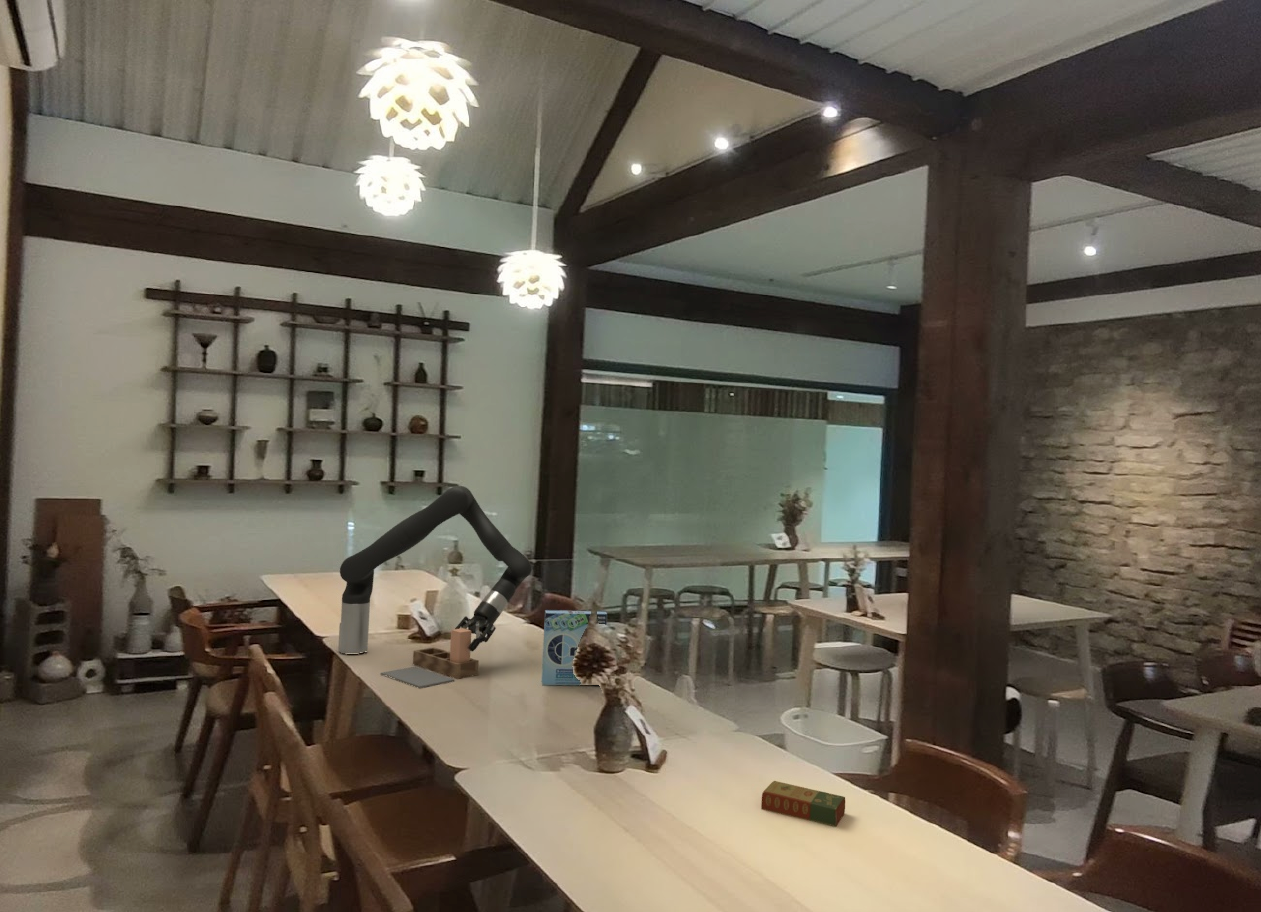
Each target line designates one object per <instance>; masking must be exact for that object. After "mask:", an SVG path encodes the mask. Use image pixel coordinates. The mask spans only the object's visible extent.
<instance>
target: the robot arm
mask: <svg viewBox="0 0 1261 912" xmlns="http://www.w3.org/2000/svg"><path fill="white" fill-rule="evenodd" d="M458 515H460V516H461V517H462V518H464V520H466V521H467V522H468V524H469V525H470V526H471V528H472V529H473V530H474V531H475V533H476V535H477V537H478V539H479V540H480V541H481V543H482V544H483V547H485V549H486V550H487V551H488V552H489V553H490V555H492V557H493V558H494V559H495V560H496V561H498V562H503V563H504V564H505V565H506V569H505V570H504V572H503V573H502V574H501V577H500V578H499V580H498V581H497V582H496V583H495V584H494V586H493V587H492V588H491V590H489V592H487V594H486V595H485V596H484V598H483V599H482V600H481V601H480V603H479V604H478V606H477V607H476V608H475V609H474V611H473V616H472V617H471V618H468V616H467V615H466V616H463V618H462V619H461V621H460V622H459V623H458V624H457V626H455V628H454V629H461V628H463V629H467V630H471V635H473V634H475V638H473V640H471V644H470V645H469V647H468V649H469V650H470V652H473V653H474V651H475V650H476V649H477V648H478V646H480V644H481V643H483V642H484V643H487V642H488V641H489V640H490V639H491V636H492V635H493V633H494V632H495V630H496V629H497V627H496V626H495V625H494V624H495V623H496V621H497V620H498V619H499V617H500V616H501V614H503V611H504V610H505V609H506V607H507V605H508V603H509V602H510V600H512V598H513V597H514V595H515V593H516V590H517V589H518V587H520V585H521V584H522V582H523V581H524V580H525V579H527V578H528V577H529V576H530V575H531V573H532V571H533V567H532V564H531V562H530V560H529V559H528V558H527V556H525V555H524V554H523V553H522V552H521V551H519V550H518V549H517V548H515V547H513V545H512V544H511V543H510V542H509V540H508V539H507V538H506V537H505V536H504V535H503V534H502V533H501V531H500V530H499V529H498V528H497V527H496V526H495V524H493V522H492V521H491V520H490V518H489V517H488V516H487V514H486V513H485V512H484V511H483V509H482V507H481V506H480V504H479V503H478V502H477V499H476V498H475V496H474V494H473V493H472V492H471V490H470V489H469V488H468V487H466V486H462V485H457V486H452V487H449V488H448V489H446V490H445V491H444V492H443V493H442V494H441V495H440V496H439V497H438V498H436V499H435V500H434V501H432V503H430V504H429V505H428V506H426V507H424V508H423V509H421V510H419V511H417V512H415V513H413V514H412V515H409V516H408V517H406V518H404V519H403V520H402V521H400V522H399V523H397V524H396V525H394V526H393V527H392V528H390V529H389V530H388V531H387V532H385V533H383V535H382V536H380V537H379V538H377V539H376V540H375V541H374V542H373V543H372V544H370V545H369V546H367V547H365V548H364V549H362V550H360V551H358V552H357V553H355V554H353V555H351V556H348V557H347V558H345V559H344V560H343V561H342V563H341V565H340V567H339V574H340V578H341V579H342V580H343V581H344V582H346V586H345V589H344V591H343V593H342V595H341V596H342V597H341V609H340V611H341V615H340V622H339V628H338V629H339V630H338V647H337V649H338V650H339V651H340V652H341V653H340V652H339V653H340V654H342V653H360V652H365V651H367V652H368V649H369V648H368V647H369V646H368V645H369V631H370V629H369V628H370V627H369V626H370V613H371V612H370V611H371V610H370V609H371V608H370V607H371V605H370V604H371V597H372V593H373V589H374V588H373V587H374V580H375V579H374V578H375V577H374V576H375V569H376V568H378V567H379V566H380V565H382V564H385V562H387V561H389V560H392V559H394V558H396V557H398V556H400V555H402V554H403V553H406V552H408V550H410V549H412V548H413V547H415V546H416V545H418V544H419V543H420V542H421V541H423V540H425V538H427V537H428V536H429V535H430V534H431V533H432V532H433V531H434V530H435V529H436V528H437V527H438V526H440V525H442V523H445V522H446V521H448V520H449V519H452V518H454V517H455V516H458Z"/></svg>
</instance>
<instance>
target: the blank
mask: <svg viewBox="0 0 1261 912" xmlns="http://www.w3.org/2000/svg"><path fill="white" fill-rule="evenodd" d="M467 629H468V628H467ZM467 629H463V628H461V627H460V628H459V629H455V628H454V629H451V631H450V647H449V652H450V661H453V662H456V663H462V662H468V661H470V658H471V651H470V650H469V649H468V647H469V645H470V644H471V643H472V633H471V630H467Z"/></svg>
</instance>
